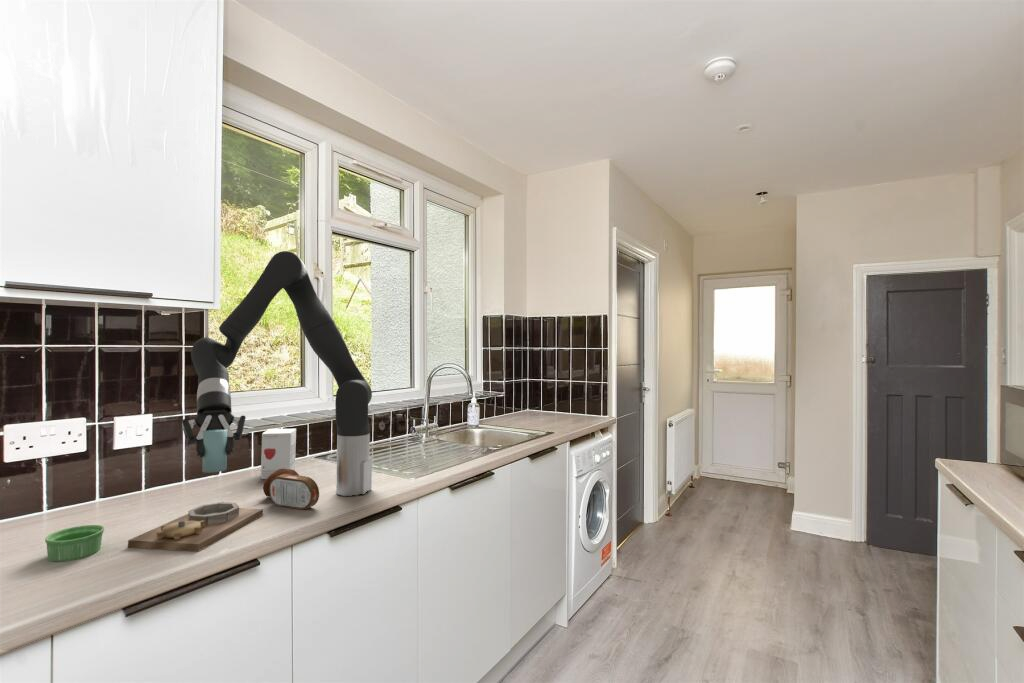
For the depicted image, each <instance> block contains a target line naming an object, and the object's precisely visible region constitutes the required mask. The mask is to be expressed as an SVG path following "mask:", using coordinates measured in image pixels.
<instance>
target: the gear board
mask: <svg viewBox="0 0 1024 683" xmlns="http://www.w3.org/2000/svg"><path fill="white" fill-rule="evenodd" d="M187 512H188V513H187V514H184V515H182V516H179V517H177V518H176V519H173V520H171V521H169V522H166V523H164V524H162V525H159V526H158V527H157V526H156V528H153V529H151V530H148V531H146V532H144V533H141V534H140V535H137V536H134V537H132V538H130V539H128V540H127V548H135V549H150V550H165V551H166V550H167V551H168V550H169V551H185V552H186V551H188V552H199V551H202V550H203V549H205V548H207V547H208V546H210V545H212V544H214V543H216V542H218V541H219V540H222V538H225V537H227V536H228V535H230V534H232V533H234V532H235V531H238V530H239V529H241V528H242V527H245V526H246V525H248V524H250V523H252V522H253V521H255V520H256V518H257V519H259V518H260V517H262V516H264V509H263V508H245V507H244V508H243V507H240V506H239V504H237V503H236V502H225V501H221V502H214V503H213V502H212V503H207V504H203V505H199V506H197V507H194V508H193V509H190V510H189V511H187ZM261 515H262V516H261ZM258 517H259V518H258ZM249 522H250V523H249Z"/></svg>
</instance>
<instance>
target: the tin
mask: <svg viewBox="0 0 1024 683" xmlns="http://www.w3.org/2000/svg"><path fill="white" fill-rule="evenodd" d="M269 493H270V497H269V498H270V499H271V501H272V502H273V504H275V505H276V506H278V507H283V508H288V507H289V508H290V509H296V510H301V509H302V511H304V510H308V509H309V508H311V507H315V505H316V504H317V503H318V502H319V498H320V489H319V486H318V484H317V482H316V481H315V479H314V478H312V477H309V476H306V475H304V476H303V475H292V474H281V475H280V476H277V477H275V478H274V479H272V481H271V482H270V484H269Z"/></svg>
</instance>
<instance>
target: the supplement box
mask: <svg viewBox="0 0 1024 683" xmlns="http://www.w3.org/2000/svg"><path fill="white" fill-rule="evenodd" d="M296 440H297V428H268V429H267V430H265V431H264V432H262V434H261V458H260V459H261V461H260V463H261V464H260V480H266V479H267V478H268V477H269V476H270V475H271V474H272V473H274V472H275V471H277V470H278V469H284V468H285V469H291V470H295V471H296V449H297V448H296V444H297V441H296Z"/></svg>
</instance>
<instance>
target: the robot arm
mask: <svg viewBox="0 0 1024 683" xmlns="http://www.w3.org/2000/svg"><path fill="white" fill-rule="evenodd" d="M281 290H284V291H285V293H286V294H287V296H288V297H289V299H290V301H291V303H292V304H293V307H294V308H295V312H296V316H297V318H298V322H299V325H300V328H301V330H302V332H303V334H304V336H305V338H306V339H307V342H308V344H309V346H310V347H311V348H312V350H313V352H314V353H315V354H316V355H317V357H318V358H319V359H320V360H321V361H322V363H323V364H324V365H325V366H326V367H327V368H328V370H329V371H330V373H331V374H332V376H333V378H334V380H335V383H336V384H337V386H338V388H337V390H336V392H335V425H336V430H337V431H336V432H337V433H336V434H337V437H336V484H335V486H336V492H335V493H336V494H337V495H339V496H342V497H343V496H344V497H347V496H348V497H351V496H352V495H355V496H360V495H359V494H364V495H365V494H367V493H368V492H370V491H371V490H372V488H373V487H372V481H373V480H372V479H373V478H372V476H373V474H372V473H373V469H372V468H373V458H372V457H370V450H371V449H370V445H371V444H370V442H371V441H370V440H371V436H370V435H371V426H370V421H369V404H370V402H371V400H372V396H373V393H372V387H371V385H370V384H369V383H368V381H367V380H366V378H365V376H364V375H363V374H362V372H361V371H360V369H359V368H358V367H357V365H356V363H355V361H354V360H353V358H352V355H351V353H350V350H349V348H348V346H347V343H346V342H345V340H344V338H343V335H342V334H341V332H340V329H339V327H338V326H337V324H336V322H335V320H334V319H333V316H332V315H331V313H330V311H329V310H328V309H327V307H326V306H325V304H324V303H323V301H322V300H321V299H320V297H319V295H318V294H317V292H316V290H315V287H314V285H313V283H312V280H311V278H310V275H309V273H308V270H307V267H306V264H305V263H304V261H303V260H302V259H301V258H300V257H299V256H298V254H296V253H295V252H293V251H289V250H281V251H279V252H277V253H275V254H274V255H273V256H272V257H271V258H270V260H269V261H268V263H267V264H266V266H265V268H264V269H263V272H262V273H261V274H260V276H259V278H258V279H257V281H255V283H254V285H253V286H252V287H251V289H250V291H249V292H248V293H247V294H246V295H245V297H244V298H243V299H242V301H241V302H240V303H239V304H238V305H237V306H236V307H235V309H233V311H231V313H230V314H229V315H228V316H227V317H226V318H225V320H224V321H223V322H222V323H221V324H220V326H219V332H220V333H221V334H222V335H223V336H224V337H225V338H226V341H225V344H223V343H221V342H219V341H217V340H216V339H213V338H210V337H201V338H199V339H198V340H196V341H195V342H194V344H193V345H192V347H191V351H190V357H191V361H192V363H193V366H194V367H193V368H194V369H195V372H196V373H197V376H198V377H197V378H198V379H197V384H198V386H197V392H196V415H195V418H194V419H190V420H189V419H188V418H184V419H182V421H181V425H182V426H181V427H182V431H183V435H184V437H185V439H186V440H185V441H186V443H187V444H188V445H192V444H194V445H195V446H196V447H195V454H196V456H199V458H201V459H203V431H206V430H212V429H227V456H230V455H231V453H233V452H234V445H235V444H234V441H240V440H241V439H242V436H243V432H244V428H245V425H246V424H245V423H246V415H244V414H243V415H240V416H235V415H234V414H233V412H232V411H233V410H232V394H231V388H230V376H229V375H230V374H229V370H228V368H229V367H230V366H232V364H233V363H234V361H235V359H236V357H237V355H238V352H239V350H240V349H241V346H242V345H243V343H244V340H245V339H246V338H247V336H248V335H249V334H250V333H251V332H252V331H253V329H254V328H255V327H256V326H257V325H258V323H259V322H260V321H261V319H262V318H263V316H264V315H265V312H266V311H267V310H268V307H269V305H270V304H271V302H272V301H273V299H274V298H275V297H276V296H277V295H278V293H280V291H281ZM233 423H234V424H235V425H236V427H237V428H236V432H233V431H232V429H231V427H230V426H231V425H232V424H233ZM194 425H196V427H198V428H199V432H198V434H197V435H194V433H193V431H192V430H193V428H194ZM370 489H371V490H370ZM367 491H368V492H367ZM366 492H367V493H366Z"/></svg>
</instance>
